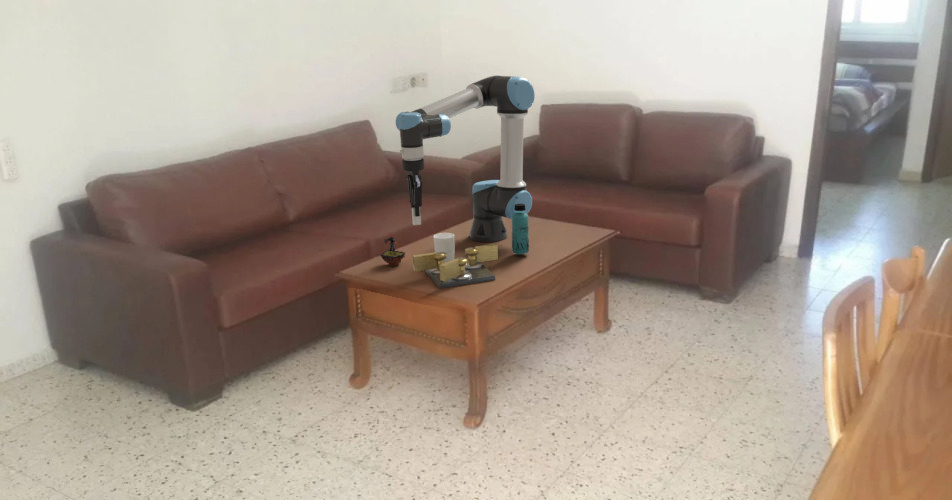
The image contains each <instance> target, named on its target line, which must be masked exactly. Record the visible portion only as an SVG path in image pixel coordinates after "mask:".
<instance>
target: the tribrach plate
mask: <svg viewBox="0 0 952 500" xmlns="http://www.w3.org/2000/svg"><path fill="white" fill-rule="evenodd" d="M425 273H426V274H427V275H428V276H429V277H430V279H431V280H432V281H433V282H434V284H435V285H437V287H438V288H439V289H446V288H451V287H458V286H464V285H471V284H477V283H484V282H490V281H495V280H496V275H495V274H494V273H493V272H492V271H491V270H490V269H489V268H487V267H486V266H485V264H483V262H476V264H475V265H469V261H468V264H467V265H465V275H463V276H459V275H458V276H456V277H454V278H451V279H449V280H446V281H442V280H440V270H437V269H430V270H425Z"/></svg>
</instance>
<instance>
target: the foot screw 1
mask: <svg viewBox="0 0 952 500" xmlns="http://www.w3.org/2000/svg"><path fill="white" fill-rule="evenodd" d="M444 259H446V253H444V252H436V253H435V251H433V252H428V253H421V254H414V255H413V254H412V266H413V267H412V269H413V271H414V272H422V271H426V270H430V269H437V270H440V265H441V264H443V263H444Z"/></svg>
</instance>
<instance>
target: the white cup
mask: <svg viewBox="0 0 952 500" xmlns="http://www.w3.org/2000/svg"><path fill="white" fill-rule="evenodd" d="M432 236H433V243H434V246H433V247H434V252H435V253H436V252H444V253H446V259H444V263H446V262H448V261H451V260H453V259H455V252H456V251H455V250H456V249H455V248H456V245H455V244H456V240H455V238H456V237H455V236H456V235H455V234H454V233H453V232H439V233H436V234H434V235H432Z"/></svg>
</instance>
